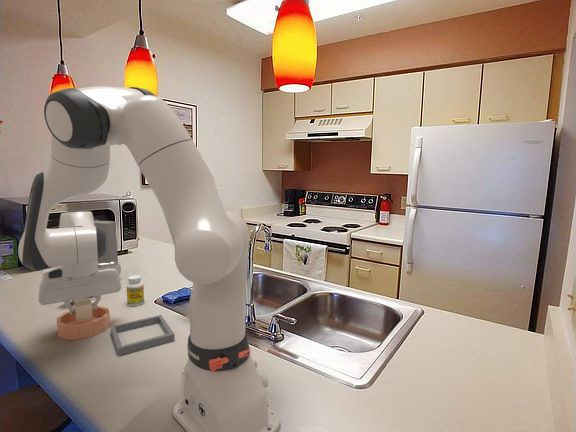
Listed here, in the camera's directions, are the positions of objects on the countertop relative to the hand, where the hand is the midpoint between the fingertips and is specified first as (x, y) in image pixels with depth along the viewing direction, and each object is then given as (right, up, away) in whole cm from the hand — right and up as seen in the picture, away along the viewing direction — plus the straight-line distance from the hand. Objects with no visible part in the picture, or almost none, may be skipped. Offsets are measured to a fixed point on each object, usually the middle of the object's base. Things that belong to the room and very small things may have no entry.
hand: (83, 311), depth 97 cm
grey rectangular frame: (+19, -6, -3) cm, 20 cm away
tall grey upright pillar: (-17, +1, +39) cm, 42 cm away
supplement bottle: (+7, -3, +19) cm, 20 cm away
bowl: (0, -5, +1) cm, 5 cm away
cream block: (0, -2, 0) cm, 2 cm away
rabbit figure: (-13, -2, +20) cm, 24 cm away
